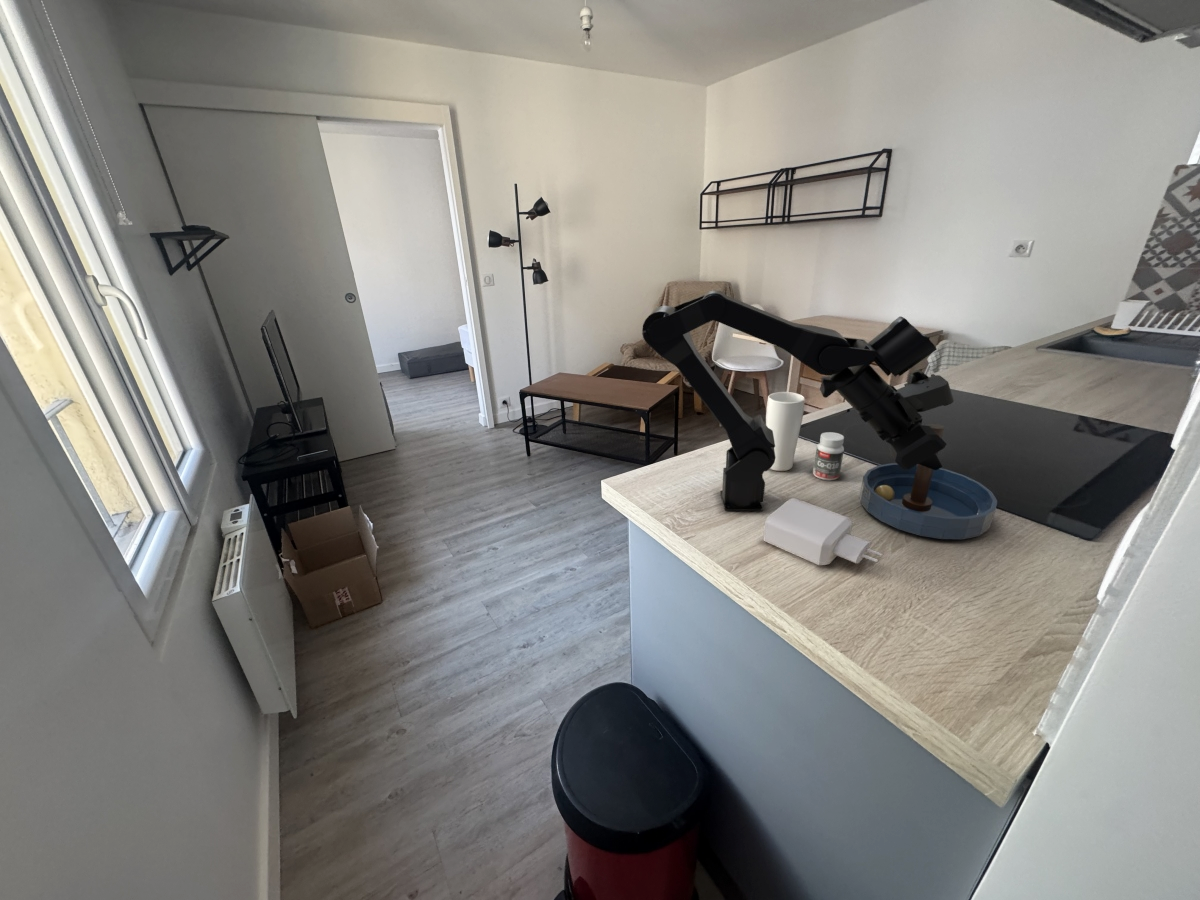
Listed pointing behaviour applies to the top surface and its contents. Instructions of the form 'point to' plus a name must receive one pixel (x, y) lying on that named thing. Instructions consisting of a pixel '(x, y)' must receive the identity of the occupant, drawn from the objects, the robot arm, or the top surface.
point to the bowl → (954, 503)
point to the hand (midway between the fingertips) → (936, 464)
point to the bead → (885, 492)
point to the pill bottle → (829, 456)
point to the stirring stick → (921, 484)
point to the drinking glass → (784, 426)
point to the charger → (815, 534)
